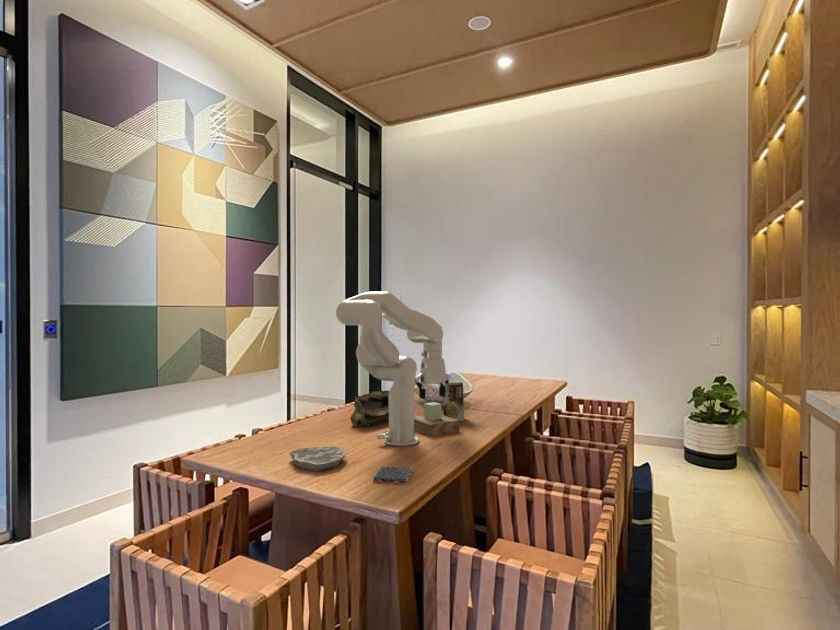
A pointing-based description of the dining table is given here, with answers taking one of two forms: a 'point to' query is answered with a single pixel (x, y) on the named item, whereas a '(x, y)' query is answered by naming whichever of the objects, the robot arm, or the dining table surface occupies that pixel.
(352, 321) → the robot arm
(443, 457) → the dining table surface
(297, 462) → the flat grey stone slab
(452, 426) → the block
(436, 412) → the sage block
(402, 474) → the bristly blue-grey mat
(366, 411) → the hollow geode rock
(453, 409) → the coffee box
